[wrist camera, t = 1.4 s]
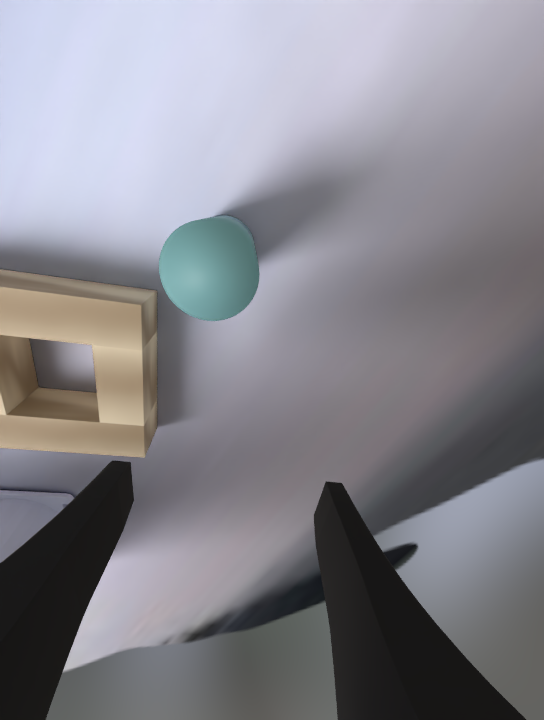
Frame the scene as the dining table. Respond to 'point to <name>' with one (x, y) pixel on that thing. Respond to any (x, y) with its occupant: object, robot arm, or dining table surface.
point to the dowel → (210, 267)
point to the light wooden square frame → (111, 364)
